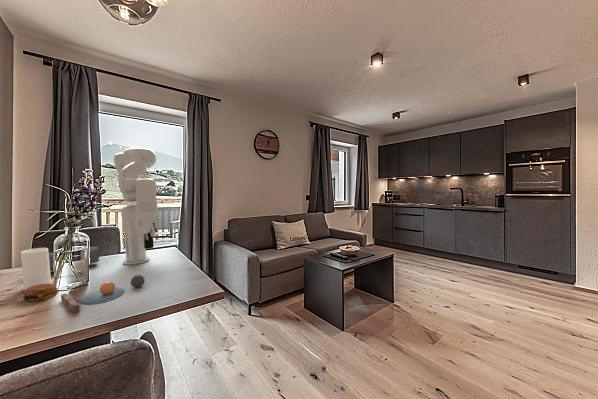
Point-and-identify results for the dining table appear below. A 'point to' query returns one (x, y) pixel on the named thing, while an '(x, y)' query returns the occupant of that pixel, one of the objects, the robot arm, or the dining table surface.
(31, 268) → the cup
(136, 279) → the dark grey sphere
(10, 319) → the dining table surface
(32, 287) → the burger
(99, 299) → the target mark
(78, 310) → the stopper wall
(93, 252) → the bluetooth speaker
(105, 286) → the object ball
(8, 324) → the dining table surface
